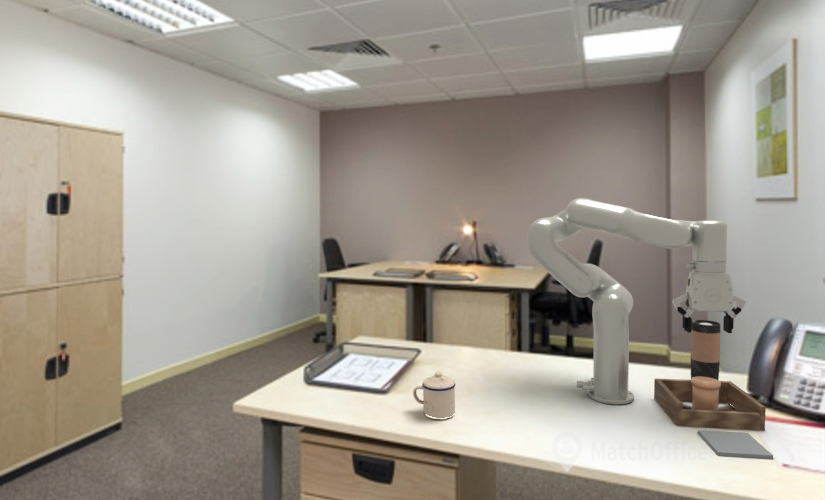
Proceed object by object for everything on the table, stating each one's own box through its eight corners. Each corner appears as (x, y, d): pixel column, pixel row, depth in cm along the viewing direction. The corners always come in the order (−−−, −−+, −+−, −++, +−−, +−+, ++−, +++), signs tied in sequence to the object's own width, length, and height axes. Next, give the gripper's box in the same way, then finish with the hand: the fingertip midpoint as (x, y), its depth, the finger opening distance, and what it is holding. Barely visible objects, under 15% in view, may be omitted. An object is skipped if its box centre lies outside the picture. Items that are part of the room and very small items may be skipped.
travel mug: (723, 391, 143) (725, 325, 142) (695, 390, 145) (696, 325, 143) (712, 382, 151) (714, 320, 149) (686, 381, 152) (687, 319, 151)
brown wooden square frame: (677, 426, 121) (677, 403, 121) (654, 398, 139) (654, 378, 139) (764, 430, 118) (765, 406, 117) (729, 401, 136) (730, 381, 135)
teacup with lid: (459, 409, 134) (458, 368, 134) (451, 423, 126) (450, 379, 125) (419, 404, 138) (418, 365, 138) (408, 417, 130) (407, 375, 129)
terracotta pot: (696, 418, 126) (697, 384, 125) (686, 407, 132) (687, 375, 132) (724, 419, 124) (725, 385, 124) (713, 408, 131) (714, 376, 130)
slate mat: (718, 455, 106) (718, 452, 106) (697, 433, 117) (697, 429, 117) (773, 459, 105) (773, 455, 104) (747, 435, 115) (747, 432, 115)
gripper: (678, 269, 123) (677, 334, 125) (753, 269, 120) (751, 336, 122) (668, 266, 131) (667, 327, 132) (738, 265, 128) (736, 328, 129)
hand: (707, 331), depth 127 cm, fingers open, 9 cm apart
